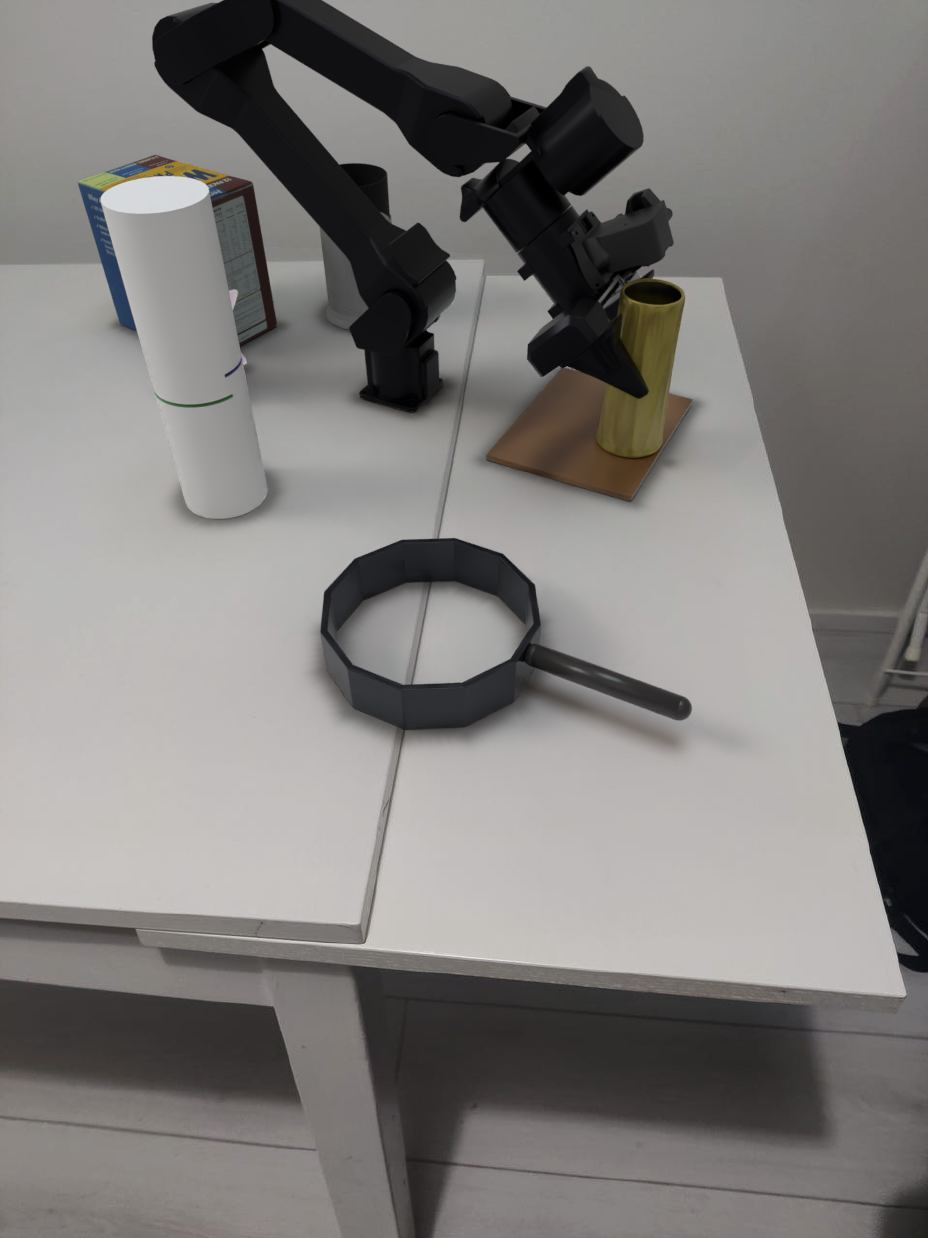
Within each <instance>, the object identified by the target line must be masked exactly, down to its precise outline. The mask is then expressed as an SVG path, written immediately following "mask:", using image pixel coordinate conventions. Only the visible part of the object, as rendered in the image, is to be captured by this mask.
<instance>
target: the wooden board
mask: <svg viewBox="0 0 928 1238" xmlns="http://www.w3.org/2000/svg"><path fill="white" fill-rule="evenodd" d="M606 386H607V383H605V382H603V381H601V380H599V379H597V378H594V377H592V376H590V375H587V374H585V373H582V372H580V371H577V370H575V369H572V368H567V367H565V368H561V367H560V370H558V372H556V374H555V375H554V376H553V377H552V379H551V380H550V381H549V382H548V383H547V384H546V386H545V387H544V388H543V389H542V390H541V392H539V393H538V395H537V396H536V397H535V398H534V399H533V400H532V402H531V403H530V404H529V405H528V406H527V407H526V409H525V410H524V411H523V412H522V413H521V414H520V415H519V417H518V418H517V419H516V420H515V421H514V422H513V423H512V424H511V426H510V427H509V428H508V429H507V430H506V431H505V432H504V434H503V435H502V436H501V437H500V438H499V439H498V441H496V442H495V444H494V445H493V447H491V449H490V450H489V451H488V452H487V453H486V454H485V455H486V456H485V457H486V458H485V460H486V461H489V462H493V463H496V464H499V465H503V466H506V467H510V468H513V469H516V470H520V471H524V472H527V473H531V474H533V475H537V476H541V477H545V478H547V479H551V480H554V481H558V482H562V483H565V484H569V485H571V486H575V487H579V488H581V489H586V490H589V491H591V492H596V493H599V494H603V495H606V496H610V497H613V498H616V499H620V500H622V501H623V500H624V501H627V502H632V500H633V499H634V497H635V495H636V494H637V492H638V491H639V490H640V488H641V486H642V484H643V483H644V481H645V480H646V478H647V477H648V475H649V473H650V471H651V470H652V468H653V467H654V466H655V464H656V462H657V460H658V459H659V457H660V456H661V454H662V452H663V451H664V449H665V448H666V447H667V444H668V443H669V442H670V440H671V438H672V436H673V435H674V434H675V432H676V430H677V429H678V427H679V426H680V424H681V422H682V421H683V419H684V417H685V416H686V414H687V413H688V412H689V409H690V408H691V406H692V405H693V400H694V399H693V398H690V397H686V396H683V395H677V394H673V393H670V392H669V396H668V403H667V410H666V417H665V423H664V430H663V442H662V445H661V447H660V448H659V449H658V450H657V451H656V452H655V453H653V454H651V455H649V456H646V457H641V458H626V457H621V456H617V455H614V454H611V453H609V452H607V451H606V450H604V449H603V448H602V447H601V446H600V445H599V444H598V442H597V439H596V433H597V430H598V427H599V422H600V416H601V411H602V405H603V399H604V395H605V390H606Z"/></svg>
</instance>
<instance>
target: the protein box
mask: <svg viewBox="0 0 928 1238" xmlns="http://www.w3.org/2000/svg"><path fill="white" fill-rule="evenodd" d="M158 176H179V177H187V178H192V179H196V180H199V181H201V182H203V183H205V184H206V185H207V186H208V188H209V193H210V198H211V203H212V208H213V213H214V218H215V223H216V228H217V233H218V238H219V243H220V248H221V254H222V259H223V264H224V269H225V274H226V279H227V284H228V289H229V291H230V290H234V289H235V290H237V291H238V295H237V299H236V302H235V305H234V308H233V315H234V320H235V325H236V330H237V335H238V340H239V345H240V346H242V345H244V344H245V343H247V342H249V341H251V340H253V339H254V338H257V337H258V336H260V335H262V334H265V333H266V332H267V331H270V330H272V329H273V328H275V327H277V326H278V322H277V315H276V309H275V305H274V298H273V293H272V287H271V280H270V275H269V268H268V263H267V257H266V251H265V246H264V238H263V234H262V228H261V227H262V226H261V222H260V221H261V220H260V217H259V210H258V202H257V198H256V192H255V187H254V182H253V181H251V180H247V179H244V178H241V177H236V176H233V175H229V174H225V173H221V172H218V171H214V170H210V169H207V168H204V167H200V166H197V165H194V164H190V163H187V162H183V161H178V160H175V159H171V158H168V157H165V156H161V155H158V154H153V155H149V156H148V157H145V158H142V159H139V160H136V161H132V162H129V163H128V164H124V165H121V166H118V167H115V168H113V169H110V170H107V171H104V172H103V171H102V172H101V173H98V174H97V173H96V174H95V175H91V176H89V177H86V178H83V179H80V180H78V181H77V182H76V183H77V185H78V189H79V192H80V196H81V200H82V202H83V206H84V209H85V212H86V215H87V219H88V223H89V225H90V229H91V232H92V236H93V239H94V241H95V242H94V243H95V245H96V249H97V253H98V256H99V259H100V262H101V266H102V269H103V273H104V276H105V279H106V282H107V285H108V289H109V292H110V296H111V299H112V303H113V307H114V309H115V312H116V316H117V320H118V323H119V325H122V326H123V327H125V328H126V327H127V328H129V329H131V330H134V331H136V332H137V329H136V325H135V322H134V318H133V315H132V311H131V308H130V304H129V301H128V297H127V294H126V290H125V286H124V283H123V279H122V276H121V272H120V269H119V265H118V262H117V258H116V254H115V251H114V247H113V244H112V240H111V237H110V233H109V230H108V226H107V222H106V219H105V215H104V212H103V208H102V205H101V201H100V200H101V196H102V195H103V193H104V192H106V191H107V190H108V189H110V188H112V187H114V186H116V185H119V184H121V183H124V182H128V181H131V180H136V179H141V178H148V177H158Z"/></svg>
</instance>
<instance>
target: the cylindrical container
mask: <svg viewBox="0 0 928 1238" xmlns="http://www.w3.org/2000/svg"><path fill="white" fill-rule="evenodd" d="M100 201H101V205H102V208H103V212H104V215H105V219H106V222H107V226H108V230H109V233H110V237H111V240H112V244H113V247H114V251H115V254H116V258H117V262H118V265H119V269H120V272H121V276H122V279H123V283H124V286H125V290H126V294H127V297H128V301H129V304H130V308H131V311H132V315H133V318H134V322H135V325H136V329H137V331H136V333H137V336H138V339H139V343H140V346H141V350H142V355H143V357H144V360H145V364H146V365H145V366H146V368H147V371H148V375H149V379H150V382H151V385H152V389H153V392H154V397H155V400H156V403H157V407H158V411H159V413H160V417H161V421H162V424H163V428H164V432H165V435H166V439H167V443H168V445H169V450H170V453H171V457H172V460H173V464H174V468H175V471H176V475H177V479H178V481H179V485H180V489H181V492H182V496H183V499H184V503H185V506H186V508H188V510H189V511H190V512H192V513H193V514H194V515H197V516H199V517H201V518H206V519H212V520H213V519H214V520H224V519H231V518H232V519H233V518H236V517H240V516H243V515H245V514H247V513H251V512H252V511H254V510H255V509H257V508H258V507H259V506H260V505H262V503H263V502H264V501H265V499H266V497H268V496H267V495H268V492H269V491H268V490H269V489H268V483H267V478H266V473H265V467H264V463H263V457H262V453H261V447H260V443H259V437H258V432H257V426H256V421H255V416H254V413H253V406H252V402H251V396H250V392H249V391H250V390H249V386H248V381H247V376H246V372H245V367H244V366H245V365H243V361H242V356H241V353H242V352H241V347H240V346H241V345H239V340H238V335H237V330H236V325H235V320H234V315H233V310H232V304H231V299H230V294H229V289H228V284H227V279H226V274H225V269H224V264H223V259H222V254H221V248H220V243H219V238H218V233H217V228H216V223H215V218H214V213H213V208H212V203H211V198H210V193H209V188H208V186H207V185H206V184H205V183H203V182H201V181H199V180H196V179H192V178H187V177H179V176H158V177H148V178H141V179H136V180H131V181H128V182H124V183H121V184H119V185H116V186H114V187H112V188H110V189H108V190H107V191H106V192H104V193H103V195H102V196H101V200H100Z"/></svg>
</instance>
